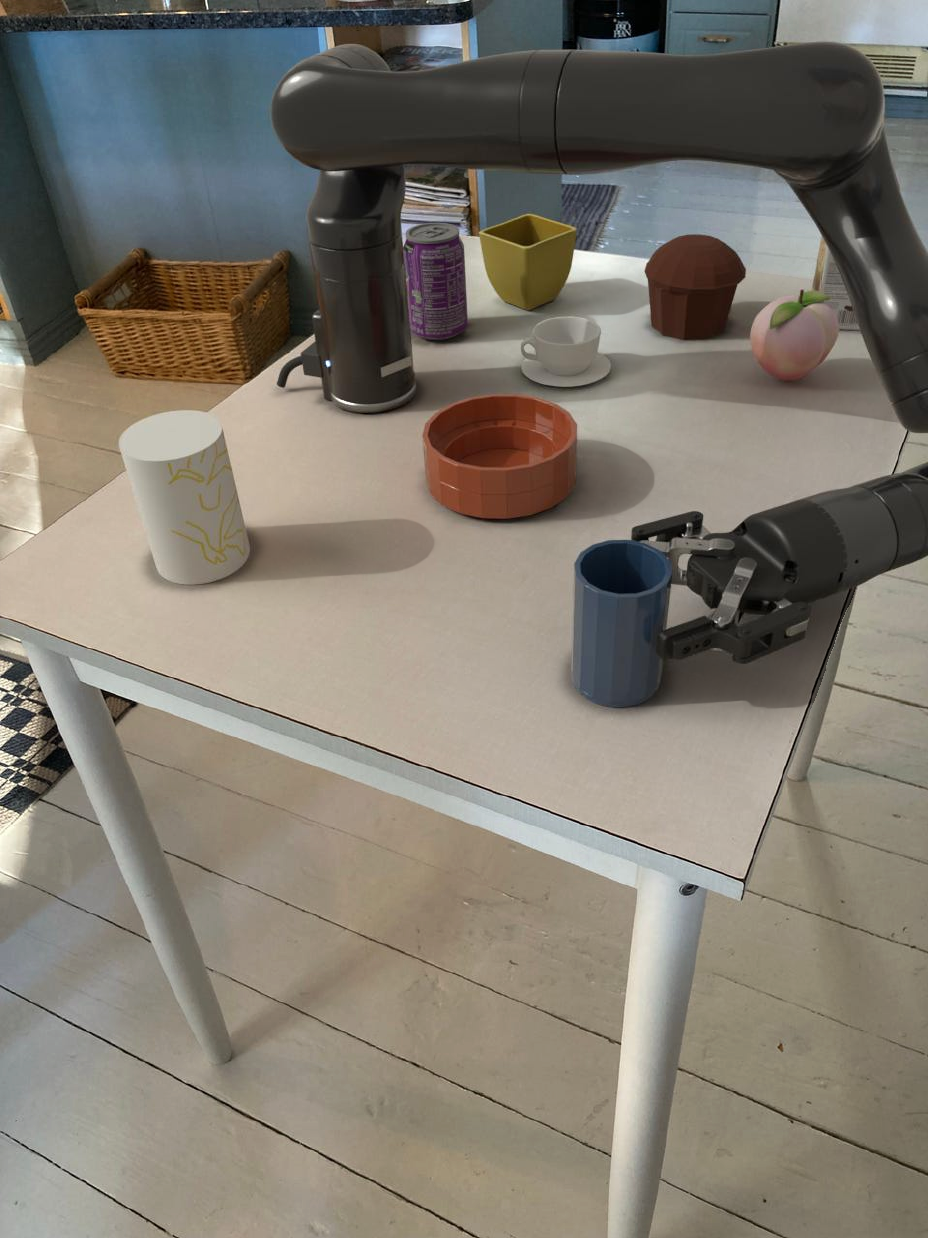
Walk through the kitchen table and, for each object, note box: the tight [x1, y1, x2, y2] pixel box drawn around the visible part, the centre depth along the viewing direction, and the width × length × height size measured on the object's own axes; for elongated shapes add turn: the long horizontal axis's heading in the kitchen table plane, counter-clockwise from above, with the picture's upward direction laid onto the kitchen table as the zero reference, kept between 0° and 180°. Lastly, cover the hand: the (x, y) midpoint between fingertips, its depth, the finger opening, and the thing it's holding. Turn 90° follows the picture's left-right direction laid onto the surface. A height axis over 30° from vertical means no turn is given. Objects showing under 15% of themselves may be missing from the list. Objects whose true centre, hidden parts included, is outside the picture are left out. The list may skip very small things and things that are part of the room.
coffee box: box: [811, 167, 901, 331], centre depth 114 cm, size 9×6×16 cm
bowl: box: [421, 393, 578, 520], centre depth 92 cm, size 14×14×6 cm
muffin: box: [644, 233, 747, 341], centre depth 116 cm, size 12×11×10 cm
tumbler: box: [570, 539, 672, 708], centre depth 70 cm, size 6×6×10 cm
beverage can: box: [403, 222, 469, 341], centre depth 117 cm, size 7×7×12 cm
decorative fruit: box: [749, 289, 840, 382], centre depth 104 cm, size 9×8×10 cm
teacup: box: [520, 316, 612, 388], centre depth 110 cm, size 10×10×5 cm
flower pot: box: [478, 213, 578, 311], centre depth 124 cm, size 9×9×9 cm
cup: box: [118, 409, 251, 586], centre depth 83 cm, size 8×8×12 cm
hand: (626, 611), depth 69 cm, fingers open, 8 cm apart
